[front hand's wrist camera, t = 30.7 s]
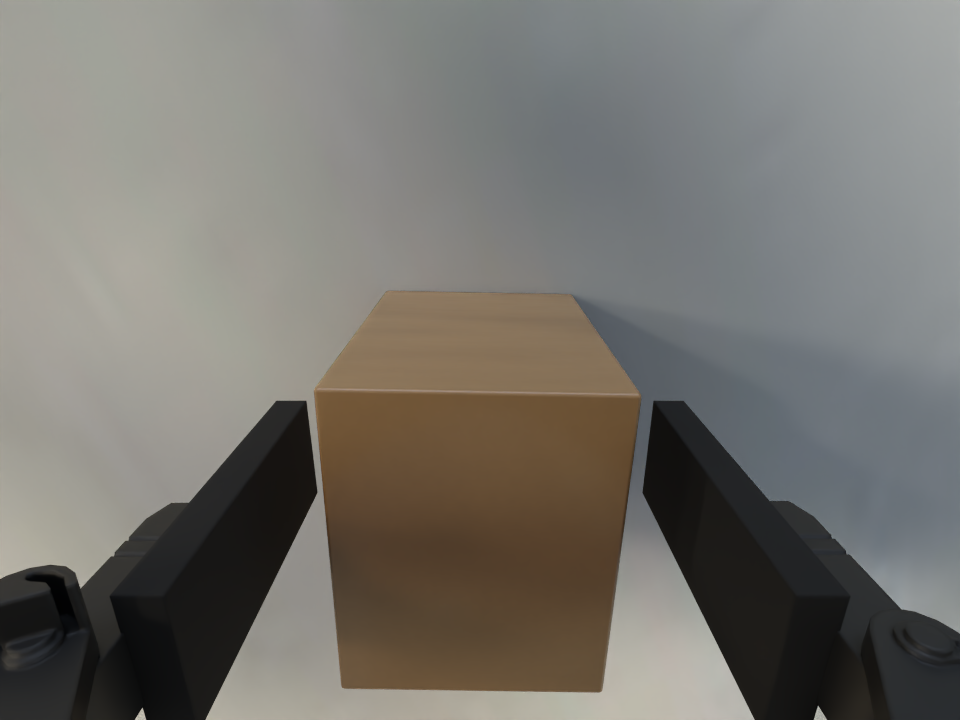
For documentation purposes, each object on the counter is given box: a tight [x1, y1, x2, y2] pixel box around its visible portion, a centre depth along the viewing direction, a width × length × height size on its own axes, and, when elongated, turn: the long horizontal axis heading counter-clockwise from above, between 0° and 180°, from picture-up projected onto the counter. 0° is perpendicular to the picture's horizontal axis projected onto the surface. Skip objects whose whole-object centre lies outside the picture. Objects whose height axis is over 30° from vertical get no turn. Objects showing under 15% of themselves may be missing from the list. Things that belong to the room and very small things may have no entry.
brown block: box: [314, 291, 641, 692], centre depth 13 cm, size 7×5×7 cm
